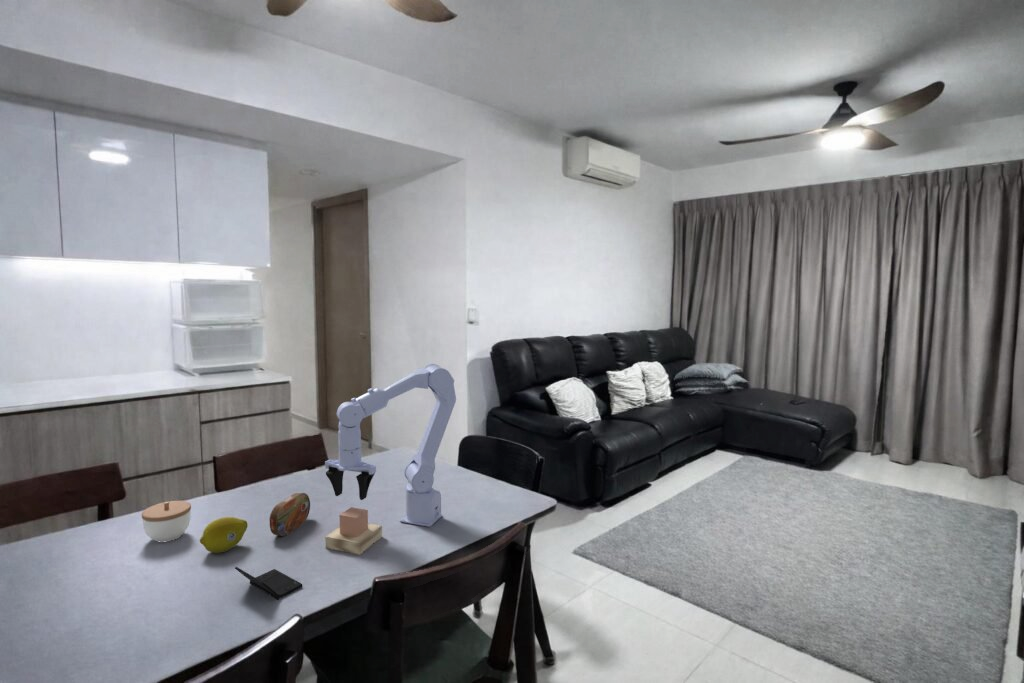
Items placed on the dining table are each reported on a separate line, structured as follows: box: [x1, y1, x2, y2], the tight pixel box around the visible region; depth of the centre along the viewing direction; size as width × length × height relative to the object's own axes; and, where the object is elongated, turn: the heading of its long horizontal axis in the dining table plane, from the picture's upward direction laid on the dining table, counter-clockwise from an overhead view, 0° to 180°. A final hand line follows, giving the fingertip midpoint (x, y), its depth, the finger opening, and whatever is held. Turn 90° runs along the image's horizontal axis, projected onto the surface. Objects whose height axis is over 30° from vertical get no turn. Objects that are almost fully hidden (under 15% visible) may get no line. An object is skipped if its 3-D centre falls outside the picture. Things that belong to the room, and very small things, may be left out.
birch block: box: [325, 522, 383, 556], centre depth 136 cm, size 10×10×3 cm
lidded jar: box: [141, 500, 192, 542], centre depth 137 cm, size 11×11×9 cm
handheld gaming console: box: [234, 566, 303, 601], centre depth 115 cm, size 12×7×10 cm
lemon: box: [199, 516, 248, 554], centre depth 131 cm, size 11×8×8 cm
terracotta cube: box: [339, 506, 369, 537], centre depth 136 cm, size 5×5×5 cm
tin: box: [269, 492, 311, 537], centre depth 143 cm, size 15×3×8 cm, turn 168°
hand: (350, 496), depth 142 cm, fingers open, 7 cm apart
